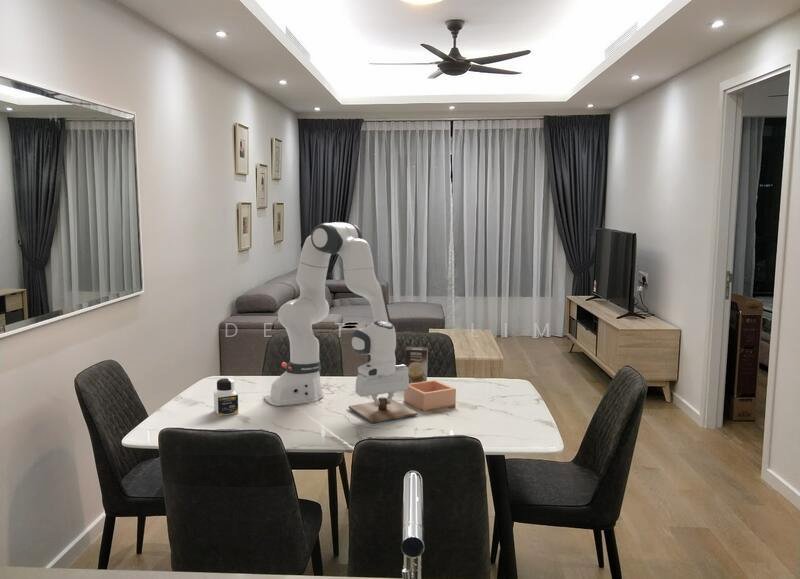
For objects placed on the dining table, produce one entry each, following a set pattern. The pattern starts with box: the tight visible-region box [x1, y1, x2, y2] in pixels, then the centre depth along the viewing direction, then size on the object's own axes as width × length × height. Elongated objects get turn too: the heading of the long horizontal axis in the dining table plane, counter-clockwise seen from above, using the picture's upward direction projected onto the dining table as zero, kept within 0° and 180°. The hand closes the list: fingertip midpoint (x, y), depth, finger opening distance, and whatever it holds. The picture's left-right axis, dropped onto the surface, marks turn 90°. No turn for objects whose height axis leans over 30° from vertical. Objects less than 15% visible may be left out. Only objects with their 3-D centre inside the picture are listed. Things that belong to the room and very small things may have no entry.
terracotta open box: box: [403, 379, 457, 412], centre depth 244 cm, size 14×14×7 cm
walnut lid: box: [348, 396, 418, 423], centre depth 232 cm, size 18×18×5 cm
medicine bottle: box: [213, 377, 239, 417], centre depth 233 cm, size 7×7×12 cm
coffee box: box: [404, 346, 429, 384], centre depth 268 cm, size 9×6×16 cm
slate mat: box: [346, 408, 423, 427], centre depth 232 cm, size 20×20×1 cm
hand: (382, 404), depth 232 cm, fingers closed on walnut lid, 3 cm apart
